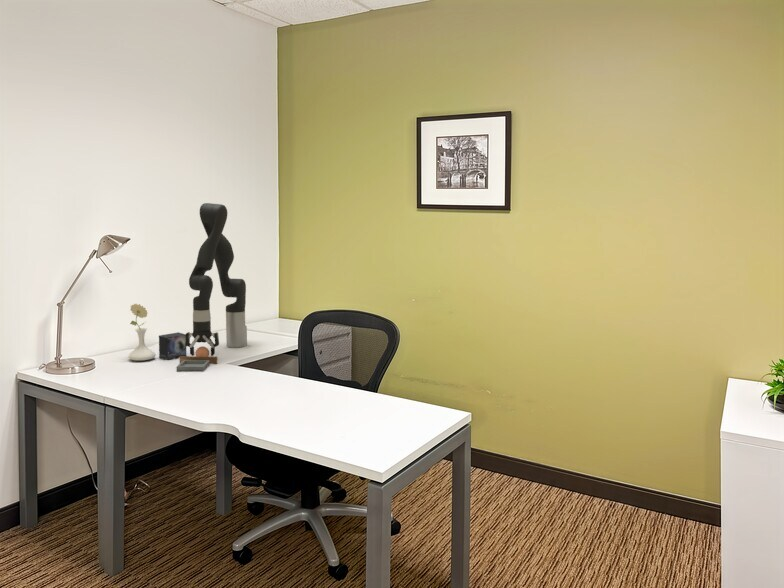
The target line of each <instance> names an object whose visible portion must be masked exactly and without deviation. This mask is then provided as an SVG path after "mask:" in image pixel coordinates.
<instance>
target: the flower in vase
mask: <svg viewBox="0 0 784 588" xmlns="http://www.w3.org/2000/svg"><path fill="white" fill-rule="evenodd" d="M129 311H131V312H132V314H133V315H134V316H135V321H134V320H131V322H130V323H129V325H132V326H137V327H138V328H135V332H136V333H137V336H138V346H137V347H136V348H134V349H133V350H132V351H131V352H130V353H129V354H128V359H130V360H132V361H136V362H138V361H148V360H152V359H154V358H155V357H157V354H156V353H155V352H154V351H153V350H152V349H151V348H149V347H148V346H146V343H145V336H146V335H145V334H146V332H147V330H148V328H146V327H143V328H142V327H140V326H143V325H145V322H143V323H141V324H140V325H139V324H138V321H137V320H138V317H139V318H141V319H143V318H146V317H148V310H146V307H144V306H143V305H141V304H138V303H133V304H131V305H130V310H129Z"/></svg>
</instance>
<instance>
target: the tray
mask: <svg viewBox="0 0 784 588" xmlns="http://www.w3.org/2000/svg"><path fill="white" fill-rule="evenodd" d="M210 365H211V364H210V360H184V361H183V362H181V363H180V362H179V364H178V365H177V366H176V367H175V369H176V372H204V371H205V370H206V369H207V368H208V367H210Z"/></svg>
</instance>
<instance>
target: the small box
mask: <svg viewBox="0 0 784 588" xmlns="http://www.w3.org/2000/svg"><path fill="white" fill-rule="evenodd" d="M185 343H186V333H182V332H179V331H178V332H172V333H166V334H161V335H158V351H159V352H158V353H159V355H158V358H159V359H162V360H166V361H168V360H173V359H178V358H179V357H180V356H187V346H186V345H185Z"/></svg>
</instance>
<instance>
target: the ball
mask: <svg viewBox="0 0 784 588" xmlns="http://www.w3.org/2000/svg"><path fill="white" fill-rule="evenodd" d="M194 356H206V357H210V349H208V347H206V346H199V347H198V348H197V349H196V350H195V351H194Z"/></svg>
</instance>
